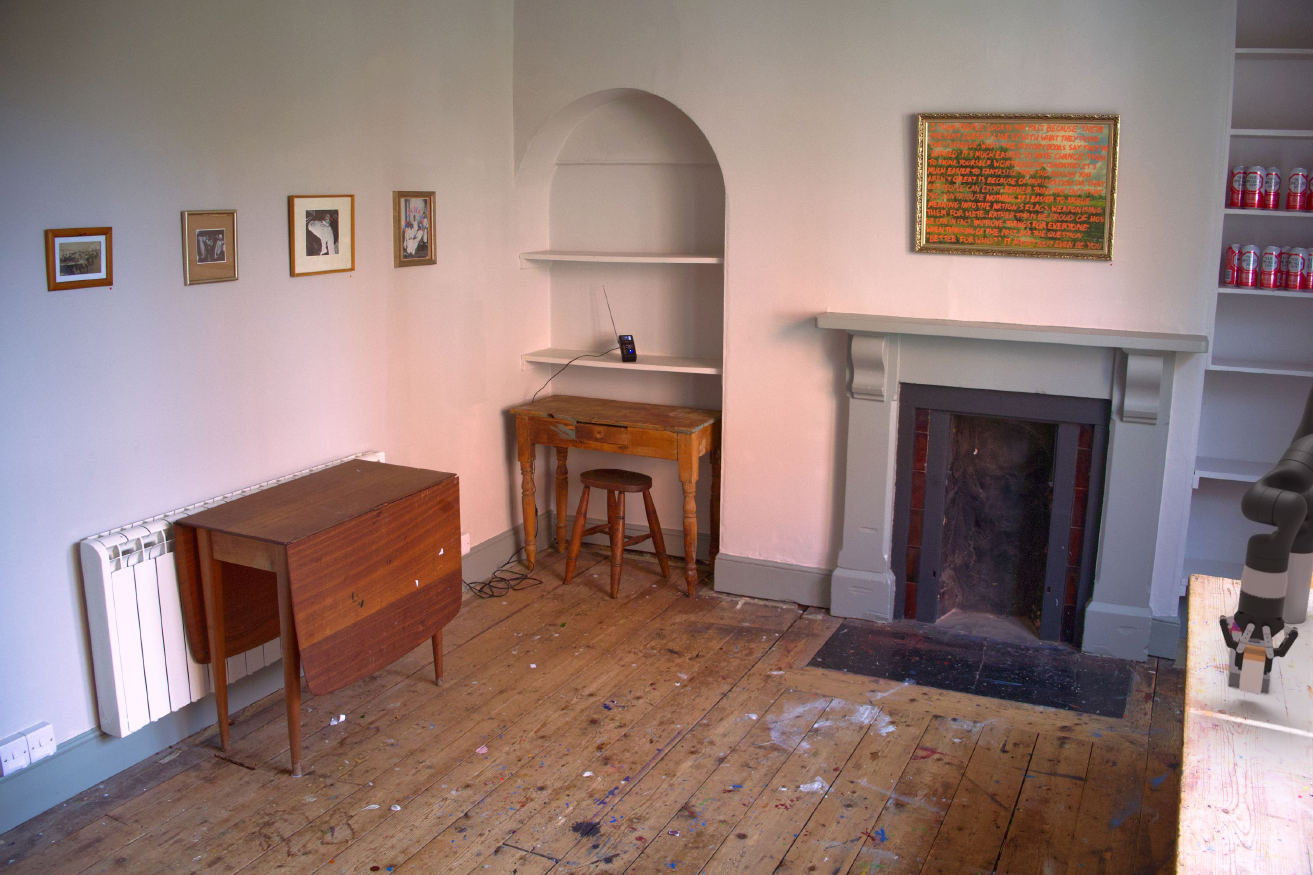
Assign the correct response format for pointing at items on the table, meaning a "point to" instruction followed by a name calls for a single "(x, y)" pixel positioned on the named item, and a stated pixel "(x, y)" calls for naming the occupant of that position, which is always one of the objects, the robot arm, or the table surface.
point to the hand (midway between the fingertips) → (1252, 670)
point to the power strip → (1235, 673)
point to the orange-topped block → (1252, 669)
